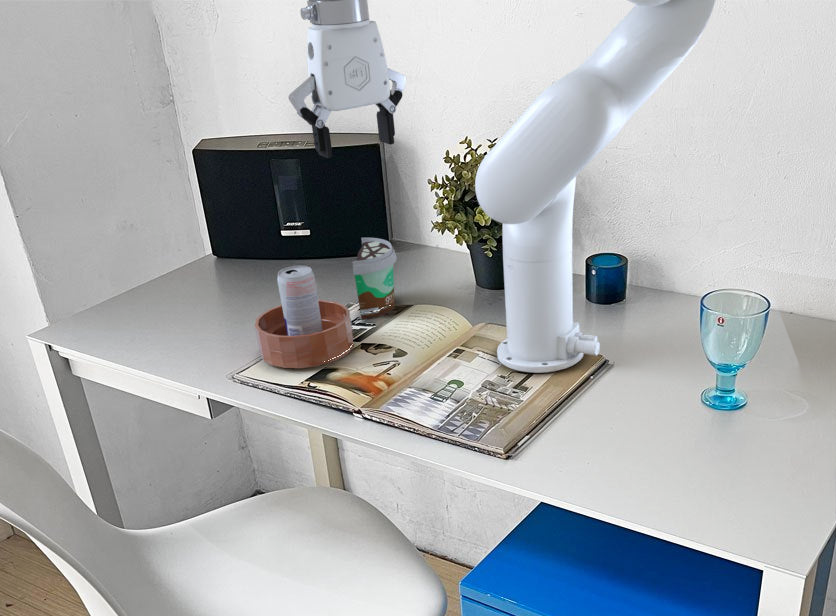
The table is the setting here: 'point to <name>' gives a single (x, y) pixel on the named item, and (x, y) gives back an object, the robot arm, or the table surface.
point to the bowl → (305, 338)
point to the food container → (375, 277)
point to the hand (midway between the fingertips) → (356, 149)
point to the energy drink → (299, 300)
